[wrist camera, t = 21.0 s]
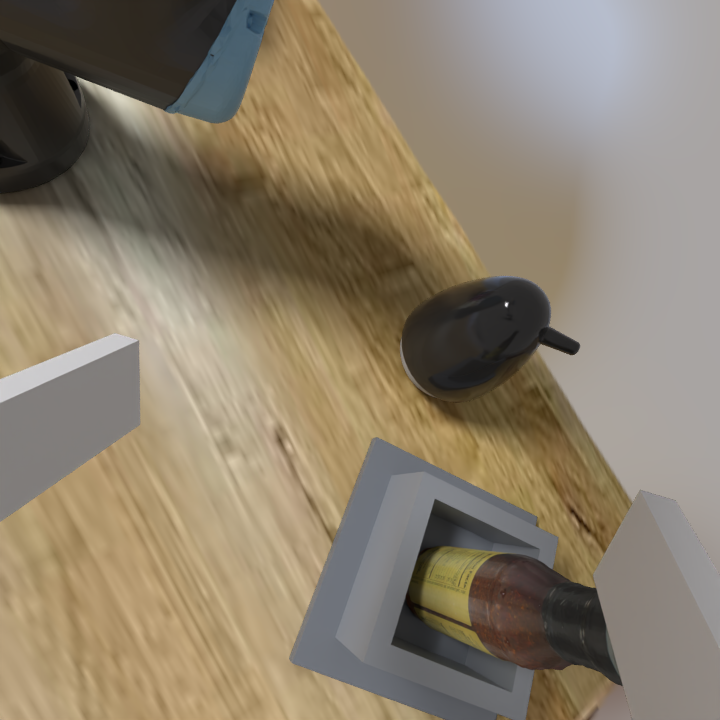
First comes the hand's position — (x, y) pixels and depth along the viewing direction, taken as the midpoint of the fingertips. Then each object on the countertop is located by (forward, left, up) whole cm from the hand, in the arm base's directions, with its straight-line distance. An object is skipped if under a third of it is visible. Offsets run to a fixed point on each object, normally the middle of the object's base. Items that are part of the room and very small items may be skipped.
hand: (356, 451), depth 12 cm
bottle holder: (+18, -1, -27) cm, 32 cm away
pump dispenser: (+12, +18, -27) cm, 35 cm away
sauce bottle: (+18, -1, -26) cm, 32 cm away
